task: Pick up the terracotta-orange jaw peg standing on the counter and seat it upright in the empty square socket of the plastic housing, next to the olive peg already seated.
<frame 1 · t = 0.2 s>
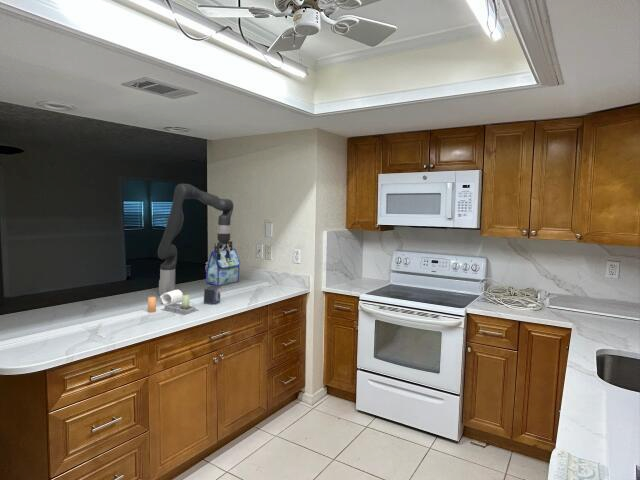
hand: (223, 259, 242), 29 cm above the worktop, tool pointing down, fingers open, 8 cm apart
small box: (212, 304, 249), on the worktop
housing: (179, 311, 229), on the worktop
lunch bag: (223, 283, 307), on the worktop
jaw peg orange: (151, 313, 224), on the worktop
mug: (169, 303, 245), on the worktop
jaw peg olive: (185, 311, 228), point 1 cm above the worktop, touching housing
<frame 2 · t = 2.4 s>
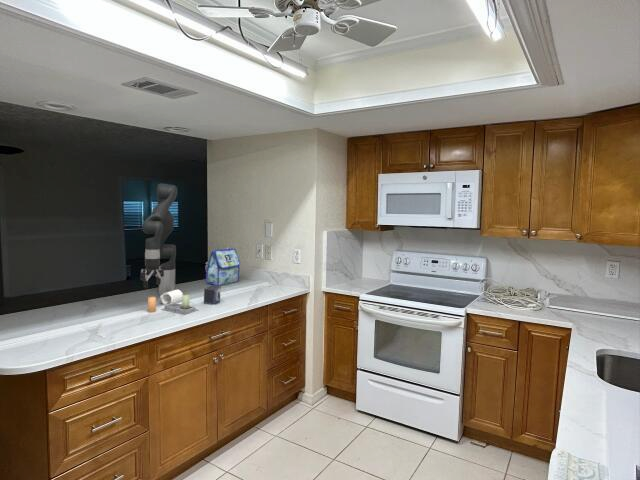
hand: (152, 286, 222), 15 cm above the worktop, tool pointing down, fingers open, 8 cm apart
nothing on the worktop moved.
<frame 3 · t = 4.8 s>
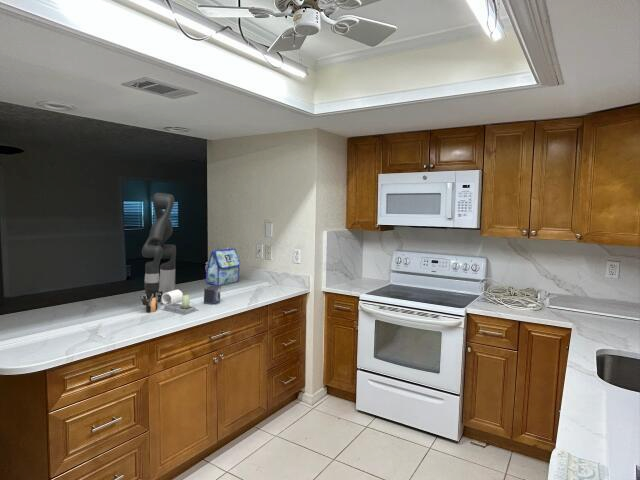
hand: (151, 311, 223), 1 cm above the worktop, tool pointing down, fingers closed on jaw peg orange, 4 cm apart
jaw peg orange: (151, 313, 224), on the worktop, touching gripper
everything else where it was.
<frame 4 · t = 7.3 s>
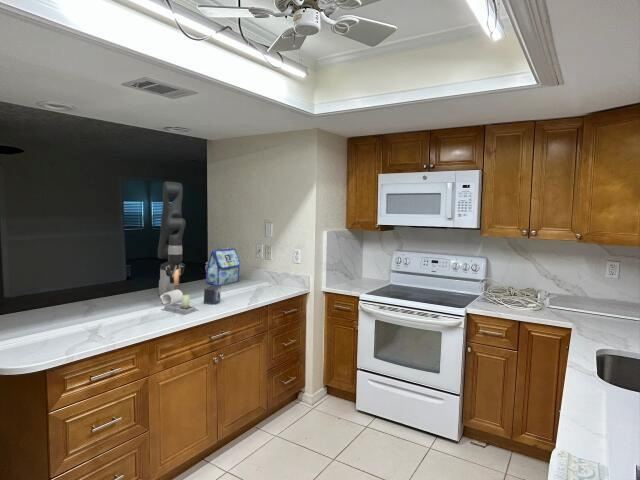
hand: (174, 282, 229), 16 cm above the worktop, tool pointing down, fingers closed on jaw peg orange, 4 cm apart
jaw peg orange: (174, 284, 230), point 15 cm above the worktop, touching gripper
everything else where it was.
when the fingers open (4 cm above the worktop, at t = 10.1 s): jaw peg orange drops 2 cm, resting on housing.
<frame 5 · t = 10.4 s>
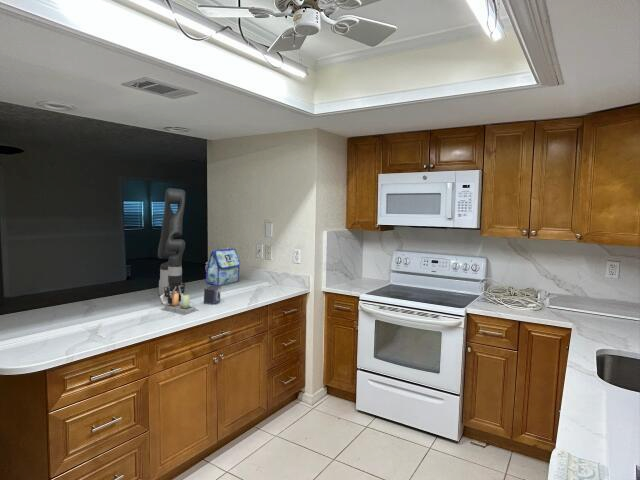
hand: (174, 302, 231), 5 cm above the worktop, tool pointing down, fingers open, 6 cm apart
jaw peg orange: (174, 308, 231), point 1 cm above the worktop, touching housing
everything else where it was.
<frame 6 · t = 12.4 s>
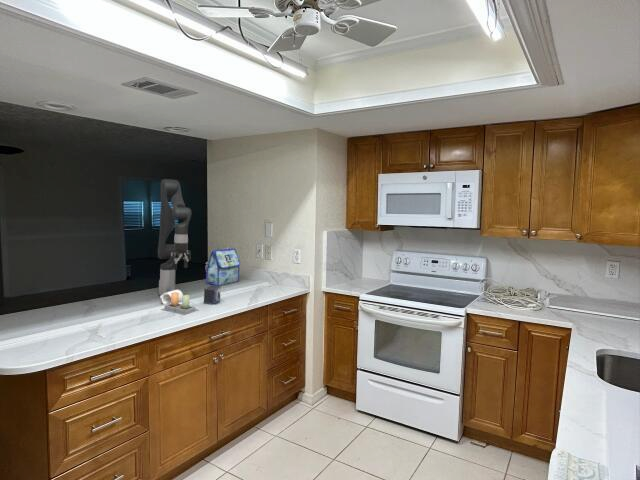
hand: (180, 268, 236), 23 cm above the worktop, tool pointing down, fingers open, 8 cm apart
nothing on the worktop moved.
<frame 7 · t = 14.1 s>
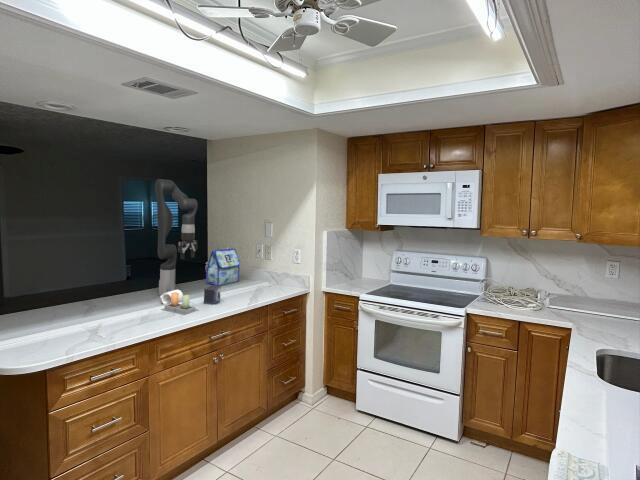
hand: (187, 258, 244), 28 cm above the worktop, tool pointing down, fingers open, 8 cm apart
nothing on the worktop moved.
at the end: jaw peg orange 0.2 cm from the target spot on the housing, point 1.0 cm above the housing's base; jaw peg orange tilted 0°; jaw peg olive moved 0.0 cm from its start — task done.
